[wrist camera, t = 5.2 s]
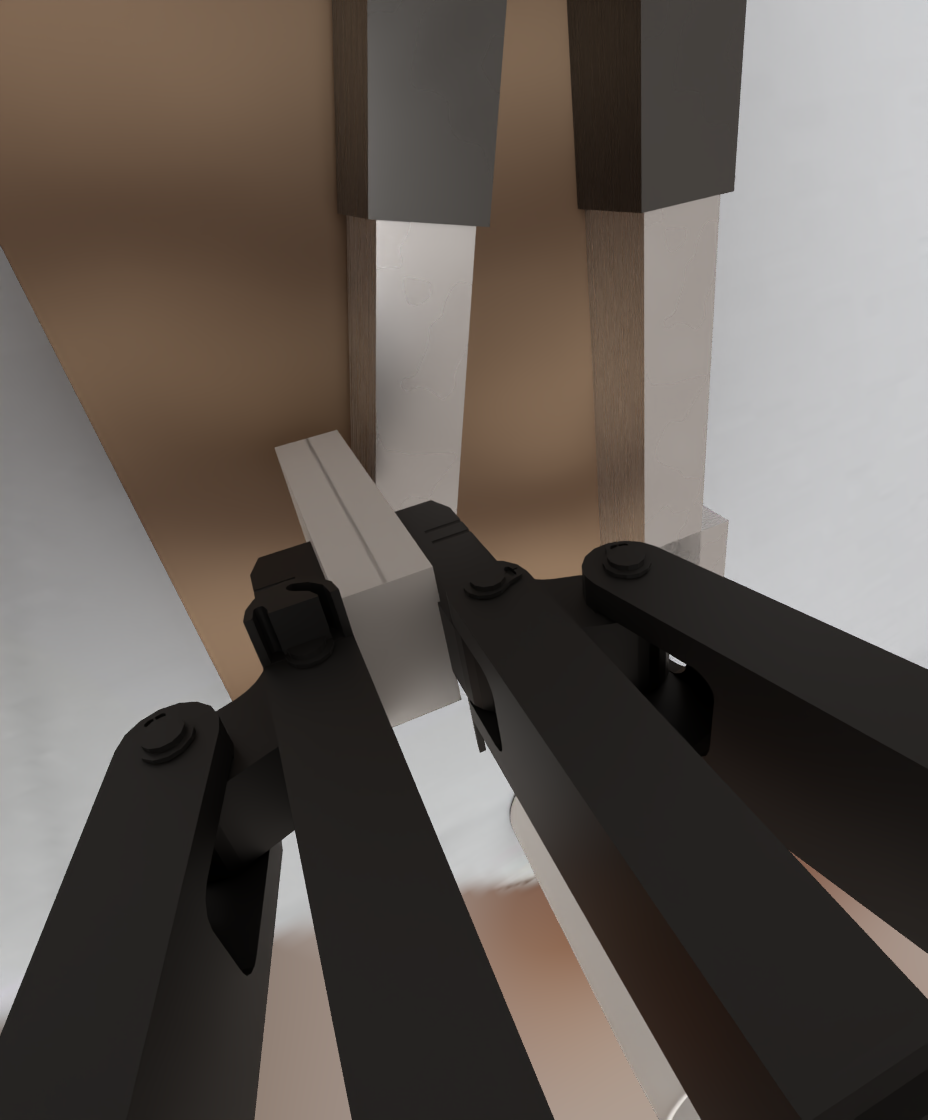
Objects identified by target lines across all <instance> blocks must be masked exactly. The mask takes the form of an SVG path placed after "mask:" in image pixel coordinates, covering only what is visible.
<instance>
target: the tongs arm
mask: <svg viewBox="0 0 928 1120" xmlns="http://www.w3.org/2000/svg"><path fill="white" fill-rule="evenodd" d="M506 8H507V0H332V24H333V64H334V105H335V145H336V186H337V214H343V215H346V217H347V271H348V325H349V379H350V433H351V450H352V452H353V453H354V455H355V456H356V458H357V459H358V460H359V462H360V463H361V465H362V466H363V468H364V469H365V470H366V472H367V473H368V475H369V476H370V478H371V479H372V480H373V482H374V483H375V485H376V486H377V488H378V489H379V490H380V492H381V493H382V495H383V496H384V498H385V499H386V500H387V502H388V503H389V505H390V506H391V508H392V509H393V511H394V512H395V511H399V510H402V509H405V508H408V507H411V506H414V505H417V504H420V503H423V502H426V501H429V500H432V501H435V502H437V503H440V504H443V505H445V506H448V507H450V508H451V509H452V510H453V512H454V513H455V514H456V515H457V501H458V487H459V472H460V457H461V442H462V428H463V413H464V398H465V383H466V369H467V354H468V339H469V325H470V310H471V295H472V280H473V266H474V251H475V236H476V226H480V227H490V216H491V203H492V190H493V177H494V164H495V151H496V138H497V125H498V112H499V99H500V86H501V73H502V60H503V47H504V34H505V21H506Z"/></svg>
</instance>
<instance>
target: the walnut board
mask: <svg viewBox="0 0 928 1120" xmlns="http://www.w3.org/2000/svg"><path fill="white" fill-rule="evenodd" d="M0 245H1V247H2V249H3V251H4V253H5V255H6V257H7V259H8V261H9V263H10V265H11V267H12V269H13V271H14V273H15V275H16V277H17V279H18V281H19V283H20V285H21V287H22V289H23V290H24V292H25V294H26V296H27V298H28V300H29V302H30V304H31V306H32V308H33V310H34V312H35V314H36V316H37V318H38V320H39V322H40V324H41V326H42V328H43V330H44V332H45V334H46V336H47V338H48V340H49V342H50V344H51V346H52V347H53V349H54V351H55V353H56V355H57V357H58V359H59V361H60V363H61V365H62V367H63V369H64V371H65V373H66V375H67V377H68V379H69V381H70V383H71V385H72V387H73V389H74V391H75V393H76V395H77V397H78V399H79V401H80V403H81V404H82V406H83V408H84V410H85V412H86V414H87V416H88V418H89V420H90V422H91V424H92V426H93V428H94V430H95V432H96V434H97V436H98V438H99V440H100V442H101V444H102V446H103V448H104V450H105V452H106V454H107V456H108V458H109V460H110V461H111V463H112V465H113V467H114V469H115V471H116V473H117V475H118V477H119V479H120V481H121V483H122V485H123V487H124V489H125V491H126V493H127V495H128V497H129V499H130V501H131V503H132V505H133V507H134V509H135V511H136V513H137V515H138V517H139V518H140V520H141V522H142V524H143V526H144V528H145V530H146V532H147V534H148V536H149V538H150V540H151V542H152V544H153V546H154V548H155V550H156V552H157V554H158V556H159V558H160V560H161V562H162V564H163V566H164V568H165V570H166V572H167V573H168V575H169V577H170V579H171V581H172V583H173V585H174V587H175V589H176V591H177V593H178V595H179V597H180V599H181V601H182V603H183V605H184V607H185V609H186V611H187V613H188V615H189V617H190V619H191V621H192V623H193V625H194V627H195V629H196V630H197V632H198V634H199V636H200V638H201V640H202V642H203V644H204V646H205V648H206V650H207V652H208V654H209V656H210V658H211V660H212V662H213V664H214V666H215V668H216V670H217V672H218V674H219V676H220V678H221V680H222V682H223V684H224V686H225V687H226V689H227V691H228V693H229V695H230V697H231V699H232V701H234V700H235V699H237V698H238V697H239V696H241V695H242V694H243V693H245V692H246V691H247V690H248V689H249V688H250V687H251V686H252V685H253V684H254V683H255V682H256V681H257V680H258V678H259V677H260V675H261V674H262V672H263V667H262V665H261V662H260V660H259V658H258V655H257V653H256V651H255V649H254V646H253V644H252V642H251V639H250V637H249V635H248V632H247V630H246V628H245V626H244V623H243V619H244V614H245V610H246V609H247V607H248V606H249V605H250V603H251V602H252V601H253V600H254V599H255V596H254V591H253V587H252V582H251V577H250V574H251V572H252V570H253V568H254V566H255V564H256V562H257V559H258V558H259V557H262V556H266V555H269V554H272V553H275V552H278V551H281V550H284V549H287V548H290V547H293V546H296V545H300V544H303V543H306V540H305V537H304V534H303V531H302V528H301V525H300V522H299V519H298V516H297V513H296V510H295V507H294V504H293V501H292V498H291V495H290V492H289V489H288V486H287V483H286V480H285V477H284V474H283V471H282V468H281V465H280V463H279V460H278V457H277V454H276V451H275V447H278V446H282V445H285V444H289V443H292V442H296V441H299V440H303V439H306V438H310V437H313V436H317V435H320V434H324V433H327V432H331V431H334V430H338V432H339V433H340V435H341V436H342V438H343V439H344V440H345V442H346V443H347V445H348V446H349V448H350V449H351V433H350V379H349V325H348V271H347V217H346V215H343V214H337V186H336V145H335V105H334V64H333V24H332V0H0ZM457 516H458V517H459V518H460V520H461V522H463V523H464V524H465V525H466V526H467V527H468V529H469V531H471V532H472V533H473V534H474V535H475V536H476V538H477V539H478V540H479V541H480V542H481V543H482V544H483V546H484V547H485V548H486V549H487V550H488V551H489V552H490V553H491V555H492V556H493V557H494V558H495V559H496V560H497V561H506V562H510V563H514V564H518V565H519V566H521V567H522V568H524V569H525V570H527V571H528V572H529V573H530V574H531V575H532V577H533V578H534V579H541V580H542V579H556V578H563V577H570V576H577V575H582V563H583V560H584V558H585V556H586V555H587V554H588V553H590V552H591V551H592V550H593V549H594V548H597V547H599V546H601V544H600V523H599V501H598V480H597V459H596V438H595V416H594V395H593V374H592V352H591V331H590V310H589V288H588V267H587V246H586V224H585V210H584V209H578V206H577V187H576V168H575V149H574V130H573V111H572V92H571V73H570V54H569V35H568V16H567V0H507V8H506V21H505V34H504V47H503V60H502V73H501V86H500V99H499V112H498V125H497V138H496V151H495V164H494V177H493V190H492V203H491V216H490V227H480V226H476V236H475V251H474V266H473V280H472V295H471V310H470V325H469V339H468V354H467V369H466V383H465V398H464V413H463V428H462V442H461V457H460V472H459V487H458V501H457Z"/></svg>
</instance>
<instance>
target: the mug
mask: <svg viewBox="0 0 928 1120" xmlns="http://www.w3.org/2000/svg"><path fill="white" fill-rule="evenodd" d="M510 820H511V825H512V828H513V830H514V833H515V835H516V837H517V839H518V841H519V843H520V845H521V847H522V849H523V851H524V853H525V855H526V857H527V859H528V861H529V863H530V865H531V867H532V869H533V872H534V874H535V876H536V878H537V880H538V882H539V884H540V886H541V888H542V890H543V892H544V894H545V896H546V898H547V900H548V902H549V904H550V906H551V908H552V910H553V912H554V914H555V916H556V918H557V920H558V922H559V924H560V926H561V928H562V930H563V932H564V934H565V936H566V938H567V940H568V942H569V944H570V946H571V948H572V950H573V952H574V954H575V956H576V958H577V960H578V962H579V964H580V966H581V968H582V970H583V972H584V974H585V976H586V978H587V980H588V982H589V984H590V986H591V988H592V990H593V992H594V994H595V996H596V998H597V1000H598V1002H599V1004H600V1006H601V1008H602V1010H603V1012H604V1014H605V1016H606V1018H607V1020H608V1022H609V1024H610V1026H611V1029H612V1030H613V1033H614V1034H615V1036H616V1039H617V1041H618V1043H619V1044H620V1047H621V1048H622V1051H623V1053H624V1054H625V1057H626V1058H627V1061H628V1063H629V1064H630V1067H631V1068H632V1070H633V1072H634V1074H635V1076H636V1078H637V1080H638V1082H639V1083H640V1086H641V1087H642V1089H643V1091H644V1093H645V1095H646V1096H647V1098H648V1100H649V1102H650V1104H651V1106H652V1108H653V1110H654V1111H655V1113H656V1115H657V1117H658V1119H659V1120H701V1119H700V1117H699V1115H698V1114H697V1112H696V1110H695V1108H694V1107H693V1105H692V1103H691V1101H690V1100H689V1098H688V1096H687V1094H686V1093H685V1091H684V1089H683V1087H682V1086H681V1084H680V1082H679V1080H678V1079H677V1077H676V1075H675V1073H674V1072H673V1070H672V1068H671V1066H670V1065H669V1063H668V1061H667V1059H666V1058H665V1056H664V1054H663V1052H662V1051H661V1049H660V1047H659V1045H658V1044H657V1042H656V1040H655V1038H654V1037H653V1035H652V1033H651V1031H650V1030H649V1028H648V1026H647V1024H646V1023H645V1021H644V1019H643V1017H642V1016H641V1014H640V1012H639V1010H638V1009H637V1007H636V1005H635V1003H634V1002H633V1000H632V998H631V996H630V995H629V993H628V991H627V989H626V988H625V986H624V984H623V982H622V981H621V979H620V977H619V975H618V973H617V972H616V970H615V968H614V966H613V965H612V963H611V961H610V959H609V958H608V956H607V954H606V952H605V951H604V949H603V947H602V945H601V944H600V942H599V940H598V938H597V937H596V935H595V933H594V931H593V930H592V928H591V926H590V924H589V923H588V921H587V919H586V917H585V916H584V914H583V912H582V910H581V909H580V907H579V905H578V903H577V902H576V900H575V898H574V896H573V895H572V893H571V891H570V889H569V888H568V886H567V884H566V882H565V881H564V879H563V877H562V875H561V874H560V872H559V870H558V868H557V867H556V865H555V863H554V861H553V860H552V858H551V856H550V854H549V853H548V851H547V849H546V847H545V846H544V844H543V842H542V840H541V839H540V837H539V835H538V833H537V832H536V830H535V828H534V826H533V825H532V823H531V821H530V819H529V818H528V816H527V814H526V812H525V811H524V809H523V807H522V805H521V804H520V802H519V800H518V798H517V797H516V796H515V798H514V801H513V804H512V807H511V813H510Z"/></svg>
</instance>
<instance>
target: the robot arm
mask: <svg viewBox="0 0 928 1120" xmlns="http://www.w3.org/2000/svg"><path fill="white" fill-rule="evenodd" d="M275 451H276V454H277V457H278V460H279V463H280V465H281V468H282V471H283V474H284V477H285V480H286V483H287V486H288V489H289V492H290V495H291V498H292V501H293V504H294V507H295V510H296V513H297V516H298V519H299V522H300V525H301V528H302V531H303V534H304V537H305V540H306V543H303V544H300V545H296V546H293V547H290V548H287V549H284V550H281V551H278V552H275V553H272V554H269V555H266V556H262V557H259V558H258V559H257V562H256V564H255V566H254V568H253V570H252V572H251V574H250V577H251V582H252V587H253V591H254V596H255V599H254V600H253V601H252V602H251V603H250V605H249V606H248V607H247V609H246V610H245V614H244V619H243V623H244V626H245V628H246V630H247V632H248V635H249V637H250V639H251V642H252V644H253V646H254V649H255V651H256V653H257V655H258V658H259V660H260V662H261V665H262V667H263V672H262V674H261V675H260V677H259V678H258V680H257V681H256V682H255V683H254V684H253V685H252V686H251V687H250V688H249V689H248V690H247V691H246V692H245V693H243V694H242V695H241V696H239V697H238V698H237V699H235V700H234V701H232V702H231V703H229V704H227V705H226V706H224V707H223V708H221V709H219V710H218V711H216V712H215V710H214V709H213V708H212V707H211V706H209V705H206V704H203V703H199V702H187V703H178V704H175V705H172V706H169V707H166V708H163V709H160V710H158V711H156V712H155V713H153V714H151V715H150V716H148V717H146V718H145V719H143V720H141V721H140V722H139V723H138V724H137V725H136V726H135V727H134V728H132V729H131V730H130V731H129V732H128V733H127V734H126V735H125V736H124V738H123V739H122V741H121V742H120V744H119V746H118V747H117V749H116V750H115V752H114V755H113V757H112V760H111V762H110V765H109V767H108V770H107V772H106V775H105V777H104V780H103V782H102V785H101V787H100V789H99V792H98V794H97V797H96V799H95V802H94V804H93V807H92V809H91V812H90V814H89V817H88V819H87V822H86V824H85V827H84V829H83V832H82V834H81V837H80V839H79V842H78V844H77V847H76V849H75V851H74V854H73V856H72V859H71V861H70V864H69V866H68V869H67V871H66V874H65V876H64V879H63V881H62V884H61V886H60V889H59V891H58V894H57V896H56V899H55V901H54V904H53V906H52V909H51V911H50V913H49V916H48V918H47V921H46V923H45V926H44V928H43V931H42V933H41V936H40V938H39V941H38V943H37V946H36V948H35V951H34V953H33V956H32V958H31V961H30V963H29V966H28V968H27V970H26V973H25V975H24V978H23V980H22V983H21V985H20V988H19V990H18V993H17V995H16V998H15V1000H14V1003H13V1005H12V1008H11V1010H10V1013H9V1015H8V1018H7V1020H6V1023H5V1025H4V1028H3V1030H2V1032H1V1035H0V1120H254V1117H255V1108H256V1099H257V1089H258V1080H259V1070H260V1061H261V1051H262V1042H263V1032H264V1023H265V1013H266V1004H267V994H268V985H269V975H270V966H271V956H272V946H273V937H274V928H275V918H276V908H277V899H278V889H279V880H280V870H281V861H282V851H283V849H282V841H281V840H282V839H284V838H285V837H286V836H287V835H289V834H290V833H291V832H293V831H294V830H295V833H296V838H297V843H298V848H299V853H300V859H301V864H302V869H303V874H304V879H305V884H306V889H307V894H308V899H309V904H310V909H311V914H312V919H313V925H314V930H315V935H316V940H317V945H318V950H319V955H320V960H321V965H322V970H323V975H324V980H325V985H326V990H327V995H328V1000H329V1006H330V1011H331V1016H332V1021H333V1026H334V1031H335V1036H336V1041H337V1046H338V1051H339V1057H340V1062H341V1067H342V1072H343V1077H344V1082H345V1087H346V1092H347V1097H348V1102H349V1107H350V1112H351V1117H352V1120H554V1117H553V1115H552V1113H551V1110H550V1108H549V1106H548V1103H547V1100H546V1098H545V1096H544V1093H543V1091H542V1089H541V1086H540V1084H539V1081H538V1079H537V1076H536V1074H535V1071H534V1069H533V1067H532V1064H531V1062H530V1059H529V1057H528V1055H527V1052H526V1050H525V1047H524V1045H523V1043H522V1040H521V1038H520V1035H519V1033H518V1030H517V1028H516V1026H515V1023H514V1021H513V1018H512V1016H511V1014H510V1011H509V1009H508V1007H507V1004H506V1002H505V999H504V997H503V994H502V992H501V989H500V987H499V985H498V982H497V980H496V978H495V975H494V973H493V970H492V968H491V966H490V963H489V960H488V958H487V956H486V953H485V951H484V948H483V946H482V944H481V942H480V939H479V936H478V934H477V932H476V929H475V927H474V924H473V922H472V919H471V917H470V915H469V912H468V910H467V907H466V905H465V903H464V900H463V898H462V895H461V893H460V891H459V888H458V886H457V883H456V881H455V878H454V876H453V874H452V871H451V869H450V866H449V864H448V862H447V859H446V857H445V854H444V852H443V849H442V847H441V845H440V842H439V840H438V837H437V835H436V833H435V830H434V828H433V825H432V823H431V821H430V818H429V816H428V813H427V811H426V808H425V806H424V804H423V801H422V799H421V796H420V794H419V792H418V789H417V787H416V784H415V782H414V780H413V777H412V775H411V772H410V770H409V767H408V765H407V763H406V760H405V758H404V755H403V753H402V751H401V748H400V746H399V743H398V741H397V738H396V736H395V734H394V731H393V729H392V727H395V726H397V725H400V724H402V723H405V722H407V721H410V720H412V719H415V718H417V717H420V716H422V715H425V714H427V713H430V712H432V711H435V710H437V709H439V708H442V707H444V706H447V705H449V704H452V703H454V702H457V701H459V700H461V696H460V691H459V686H458V682H457V680H458V681H459V683H460V685H461V686H462V688H463V690H464V691H465V693H466V695H467V696H468V701H469V705H470V710H471V715H472V720H473V725H474V730H475V734H476V739H477V744H478V747H479V751H480V752H483V751H485V750H486V747H485V742H486V744H487V746H488V747H489V749H490V751H491V753H492V754H493V756H494V758H495V760H496V761H497V763H498V765H499V767H500V769H501V770H502V772H503V774H504V776H505V777H506V779H507V781H508V783H509V784H510V786H511V788H512V790H513V791H514V793H515V795H516V797H517V798H518V800H519V802H520V804H521V805H522V807H523V809H524V811H525V812H526V814H527V816H528V818H529V819H530V821H531V823H532V825H533V826H534V828H535V830H536V832H537V833H538V835H539V837H540V839H541V840H542V842H543V844H544V846H545V847H546V849H547V851H548V853H549V854H550V856H551V858H552V860H553V861H554V863H555V865H556V867H557V868H558V870H559V872H560V874H561V875H562V877H563V879H564V881H565V882H566V884H567V886H568V888H569V889H570V891H571V893H572V895H573V896H574V898H575V900H576V902H577V903H578V905H579V907H580V909H581V910H582V912H583V914H584V916H585V917H586V919H587V921H588V923H589V924H590V926H591V928H592V930H593V931H594V933H595V935H596V937H597V938H598V940H599V942H600V944H601V945H602V947H603V949H604V951H605V952H606V954H607V956H608V958H609V959H610V961H611V963H612V965H613V966H614V968H615V970H616V972H617V973H618V975H619V977H620V979H621V981H622V982H623V984H624V986H625V988H626V989H627V991H628V993H629V995H630V996H631V998H632V1000H633V1002H634V1003H635V1005H636V1007H637V1009H638V1010H639V1012H640V1014H641V1016H642V1017H643V1019H644V1021H645V1023H646V1024H647V1026H648V1028H649V1030H650V1031H651V1033H652V1035H653V1037H654V1038H655V1040H656V1042H657V1044H658V1045H659V1047H660V1049H661V1051H662V1052H663V1054H664V1056H665V1058H666V1059H667V1061H668V1063H669V1065H670V1066H671V1068H672V1070H673V1072H674V1073H675V1075H676V1077H677V1079H678V1080H679V1082H680V1084H681V1086H682V1087H683V1089H684V1091H685V1093H686V1094H687V1096H688V1098H689V1100H690V1101H691V1103H692V1105H693V1107H694V1108H695V1110H696V1112H697V1114H698V1115H699V1117H700V1119H701V1120H928V999H927V998H926V997H925V996H924V995H923V994H922V993H921V991H920V990H919V989H918V988H917V987H916V986H915V985H914V984H913V983H912V982H911V981H910V980H909V979H908V978H907V976H906V975H905V974H904V973H903V972H902V971H901V970H900V969H899V968H898V967H897V966H896V965H895V964H894V962H893V961H892V960H891V959H890V958H889V957H888V956H887V955H886V954H885V953H884V952H883V951H882V950H881V949H880V948H879V946H877V944H876V943H875V942H874V941H873V940H872V939H871V938H870V937H869V936H868V935H867V934H866V933H865V932H864V930H863V929H862V928H861V927H860V926H859V925H858V924H857V923H856V922H855V921H854V920H853V919H852V918H851V917H850V915H849V914H848V913H847V912H846V911H845V910H844V909H843V908H842V907H841V906H840V905H839V904H838V903H837V902H836V901H835V899H834V898H832V896H831V895H830V894H829V893H828V892H827V891H826V890H825V889H824V888H823V887H822V886H821V884H820V883H819V882H818V881H817V880H816V879H815V878H814V877H813V876H812V875H811V874H810V873H809V872H808V871H807V869H806V868H805V867H804V866H803V865H802V864H801V863H800V862H799V861H798V860H797V859H796V858H795V857H794V856H793V854H792V853H794V854H795V855H796V856H797V857H799V858H800V859H801V860H803V861H804V862H805V863H807V864H808V865H810V866H811V867H812V868H814V869H815V870H816V871H818V872H819V873H820V874H822V875H823V876H824V877H826V878H827V879H828V880H830V881H831V882H832V883H834V884H835V885H836V886H838V887H839V888H841V889H842V890H843V891H845V892H846V893H847V894H848V895H850V896H851V897H853V898H854V899H855V900H857V901H858V902H859V903H860V904H862V905H863V906H865V907H866V908H867V909H869V910H870V911H871V912H873V913H874V914H875V915H877V916H878V917H879V918H881V919H882V920H883V921H885V922H886V923H887V924H889V925H890V926H891V927H893V928H894V929H895V930H897V931H898V932H899V933H901V934H902V935H903V936H905V937H907V938H908V939H909V940H910V941H912V942H913V943H914V944H916V945H917V946H918V947H920V948H921V949H922V950H924V951H925V952H926V953H928V669H926V668H923V667H921V666H919V665H917V664H915V663H912V662H910V661H908V660H906V659H903V658H901V657H899V656H897V655H895V654H892V653H890V652H888V651H886V650H884V649H881V648H879V647H877V646H875V645H873V644H870V643H868V642H866V641H864V640H862V639H859V638H857V637H855V636H853V635H851V634H848V633H846V632H844V631H842V630H840V629H837V628H835V627H833V626H831V625H829V624H826V623H824V622H822V621H820V620H817V619H815V618H813V617H811V616H809V615H806V614H804V613H802V612H800V611H798V610H795V609H793V608H791V607H789V606H787V605H784V604H782V603H780V602H778V601H776V600H773V599H771V598H769V597H767V596H765V595H762V594H760V593H758V592H756V591H754V590H751V589H749V588H747V587H745V586H742V585H740V584H738V583H736V582H734V581H731V580H729V579H727V578H725V577H723V576H720V575H718V574H716V573H714V572H712V571H709V570H707V569H705V568H703V567H701V566H698V565H696V564H694V563H692V562H690V561H687V560H685V559H683V558H681V557H679V556H676V555H674V554H672V553H670V552H667V551H665V550H663V549H661V548H659V547H656V546H653V545H650V544H647V543H643V542H637V541H618V542H612V543H607V544H604V545H602V546H599V547H597V548H594V549H593V550H592V551H591V552H590V553H588V554H587V555H586V556H585V558H584V560H583V563H582V575H577V576H570V577H563V578H556V579H542V580H541V579H534V578H533V577H532V575H531V574H530V573H529V572H528V571H527V570H525V569H524V568H522V567H521V566H519V565H518V564H514V563H510V562H506V561H497V560H496V559H495V558H494V557H493V556H492V555H491V553H490V552H489V551H488V550H487V549H486V548H485V547H484V546H483V544H482V543H481V542H480V541H479V540H478V539H477V538H476V536H475V535H474V534H473V533H472V532H471V531H469V529H468V527H467V526H466V525H465V524H464V523H463V522H461V520H460V518H459V517H458V516H457V515H456V514H455V513H454V512H453V510H452V509H451V508H450V507H448V506H445V505H443V504H440V503H437V502H435V501H432V500H429V501H426V502H423V503H420V504H417V505H414V506H411V507H408V508H405V509H402V510H399V511H395V512H394V511H393V509H392V508H391V506H390V505H389V503H388V502H387V500H386V499H385V498H384V496H383V495H382V493H381V492H380V490H379V489H378V488H377V486H376V485H375V483H374V482H373V480H372V479H371V478H370V476H369V475H368V473H367V472H366V470H365V469H364V468H363V466H362V465H361V463H360V462H359V460H358V459H357V458H356V456H355V455H354V453H353V452H352V450H351V449H350V448H349V446H348V445H347V443H346V442H345V440H344V439H343V438H342V436H341V435H340V433H339V432H338V430H334V431H331V432H327V433H324V434H320V435H317V436H313V437H310V438H306V439H303V440H299V441H296V442H292V443H289V444H285V445H282V446H278V447H275ZM669 654H670V655H672V656H673V657H675V658H677V659H678V660H680V661H682V662H684V663H685V664H686V666H681V665H679V664H676V663H675V662H673V661H671V660H670V659H669ZM484 740H485V742H484ZM790 851H791V852H792V853H790Z"/></svg>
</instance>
